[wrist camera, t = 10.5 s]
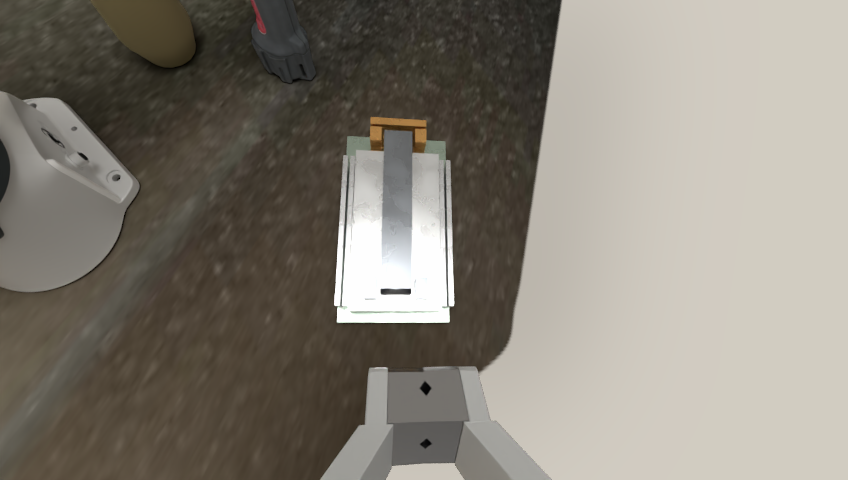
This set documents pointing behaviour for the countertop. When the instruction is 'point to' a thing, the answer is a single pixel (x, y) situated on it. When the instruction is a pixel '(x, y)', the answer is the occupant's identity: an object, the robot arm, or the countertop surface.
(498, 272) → the countertop surface
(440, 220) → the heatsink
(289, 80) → the flashlight
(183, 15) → the squeeze bottle
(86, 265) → the robot arm
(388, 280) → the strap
